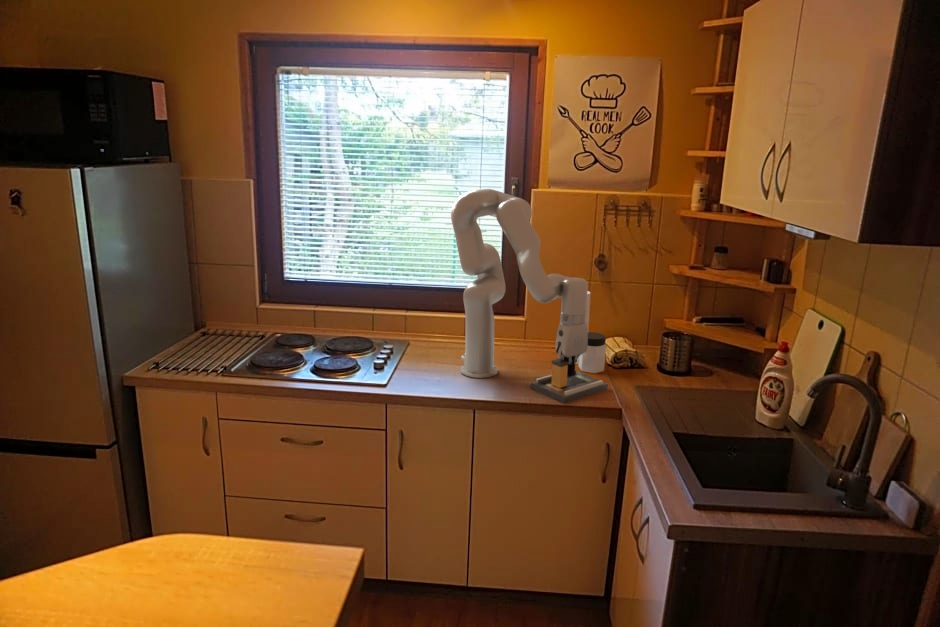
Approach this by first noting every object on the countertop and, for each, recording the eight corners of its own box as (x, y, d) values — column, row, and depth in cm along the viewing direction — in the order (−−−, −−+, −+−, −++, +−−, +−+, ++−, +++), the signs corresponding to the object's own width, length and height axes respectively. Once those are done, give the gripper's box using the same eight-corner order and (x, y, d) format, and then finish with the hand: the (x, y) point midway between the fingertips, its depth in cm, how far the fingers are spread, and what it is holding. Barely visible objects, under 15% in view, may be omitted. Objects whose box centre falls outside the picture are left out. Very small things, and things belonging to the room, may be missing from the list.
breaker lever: (550, 384, 195) (552, 360, 193) (558, 382, 197) (559, 358, 195) (559, 388, 192) (560, 363, 190) (567, 385, 194) (568, 361, 192)
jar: (590, 375, 210) (592, 340, 207) (573, 367, 217) (575, 334, 213) (609, 370, 215) (611, 336, 212) (592, 363, 221) (594, 330, 218)
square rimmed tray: (535, 381, 198) (535, 378, 198) (571, 371, 207) (571, 368, 207) (566, 395, 187) (566, 392, 187) (603, 384, 197) (603, 381, 196)
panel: (530, 388, 198) (530, 381, 198) (572, 375, 209) (573, 369, 209) (564, 403, 187) (564, 397, 186) (607, 389, 198) (607, 383, 197)
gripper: (564, 325, 185) (560, 383, 190) (598, 317, 194) (593, 373, 199) (546, 319, 191) (543, 376, 196) (580, 312, 200) (576, 366, 205)
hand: (568, 374), depth 197 cm, fingers closed
